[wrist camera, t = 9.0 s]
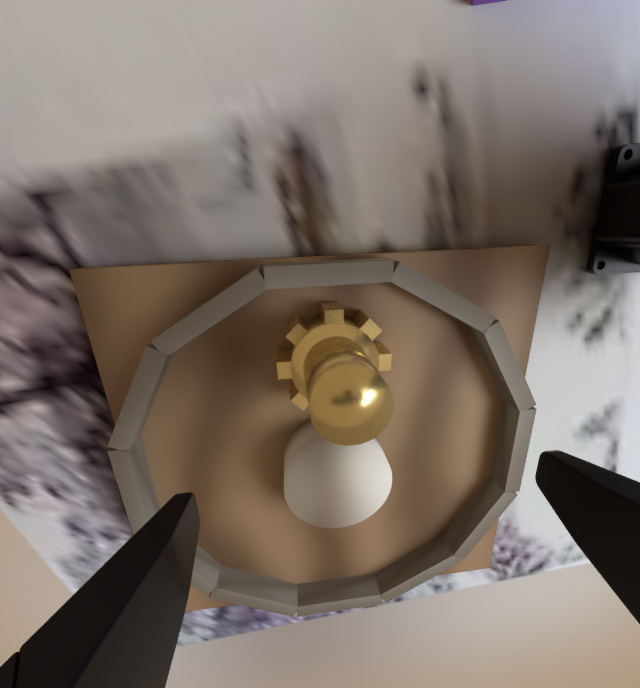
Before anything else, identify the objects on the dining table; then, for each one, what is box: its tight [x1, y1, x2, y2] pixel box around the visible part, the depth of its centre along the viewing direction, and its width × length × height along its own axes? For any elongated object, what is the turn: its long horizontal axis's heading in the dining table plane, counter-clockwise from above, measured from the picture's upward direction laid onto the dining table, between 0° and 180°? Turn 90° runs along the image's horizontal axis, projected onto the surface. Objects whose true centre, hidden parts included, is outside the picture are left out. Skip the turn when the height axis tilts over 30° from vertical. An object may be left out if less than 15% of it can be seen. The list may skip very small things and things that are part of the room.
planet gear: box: [277, 302, 394, 446], centre depth 15 cm, size 6×6×6 cm
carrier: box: [69, 245, 549, 617], centre depth 19 cm, size 24×24×4 cm
